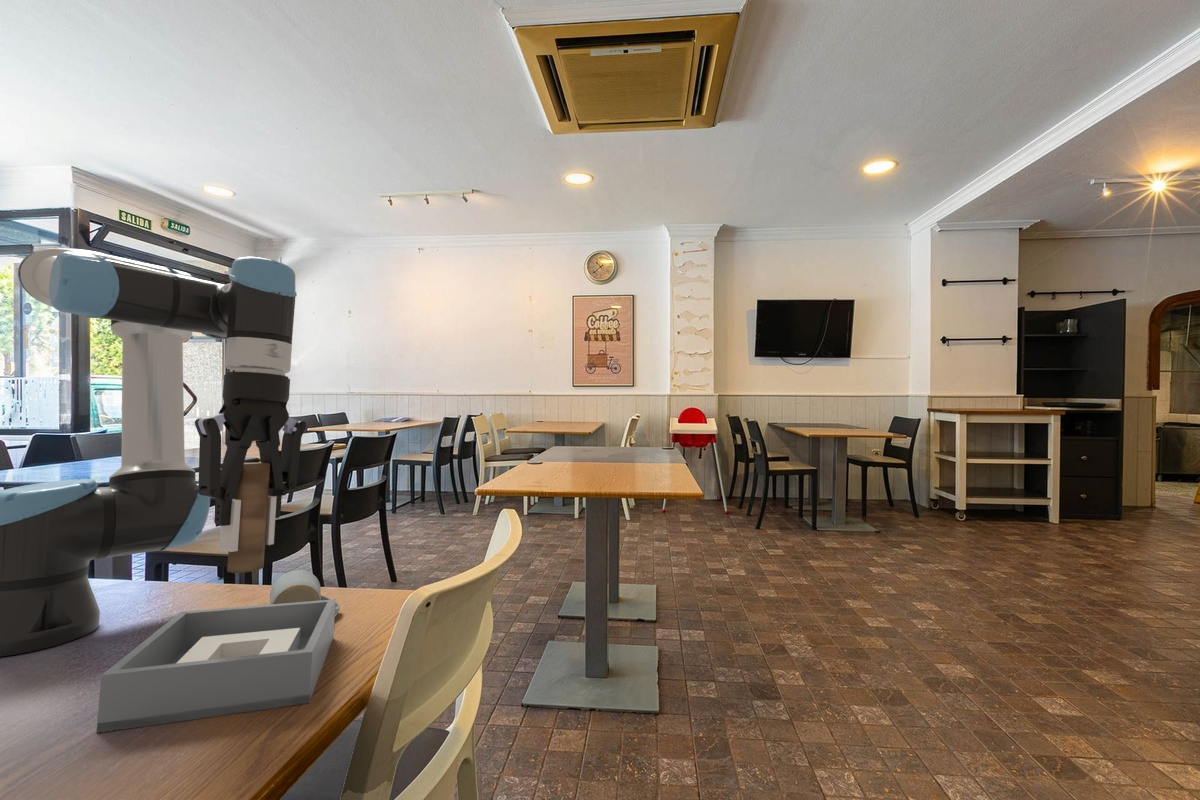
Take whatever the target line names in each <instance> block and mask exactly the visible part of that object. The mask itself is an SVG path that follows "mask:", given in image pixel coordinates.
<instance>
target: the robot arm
mask: <svg viewBox="0 0 1200 800" xmlns="http://www.w3.org/2000/svg"><path fill="white" fill-rule="evenodd" d="M17 277H18V281H19V284H20V286H21V287H22V289H24V291H25V292H26V293H27V294H28V295H29V296H31V297H32V298H33V299H35V300H36V301H38V302H39V303H42V304H45V305H47V306H50V307H53V308H54V309H55V310H56V311H59V312H62V313H68V314H72V315H77V316H80V317H83V318H90V319H91V318H92V319H103V320H110V330H111V332H112V334H114V335H115V336H117V337H118V338H119V339H121V341H122V345H121V346H122V347H121V348H122V349H121V351H122V352H121V353H122V355H121V356H122V357H121V359H122V360H121V362H122V363H121V365H122V367H121V368H122V369H121V373H122V375H121V382H122V383H121V461H120V462H121V464H120V465H121V467H120V468H118V469H117V470H116V471H115V472H114V473H112V474H111V475H109V481H108V485H109V486H100V487H98V485H99V484H98V483H97V482H96V480H95V479H91V478H76V479H68V480H67V479H64V480H57V481H56V480H55V481H47V482H46V481H45V482H39V483H32V484H27V485H21V486H15V487H11V488H6V489H3V490H0V658H1V657H9V656H14V655H19V654H24V653H30V652H34V651H39V650H43V649H44V650H45V649H47V648H52V647H55V646H59V645H62V644H66V643H69V642H71V641H74V640H77V639H79V638H81V637H82V638H83V637H84V636H86V635H87V636H88V634H91V633H92V632H95V630H96V629H97V628H98V627H99V626H100V617H101V612H100V608H99V605H98V602H97V600H96V597H95V594H94V591H93V588H92V587H91V586H92V585H91V583H90V581H89V569H90V562H91V561H92V560H98V559H99V560H100V559H107V558H114V557H121V556H129V555H136V554H143V553H149V552H150V553H152V552H157V551H159V552H164V551H167V550H169V549H175V548H181V547H186V546H189V545H190V544H192V543H193V542H195V541H196V540H197V539H198V538H199V536H200V535H201V533H202V532H203V529H204V528H205V525H206V523H207V520H208V516H209V511H210V508H211V507H210V505H211V498H212V499H213V500H214V501H215V503H214V505H215V507H214V519H213V520H214V521H213V522H214V524H215V526H220V530H219V544H218V550H220V551H225V552H228V551H229V552H234V551H238V539H239V523H240V508H241V500H236V499H233V498H234V497H235V494H236V490H237V486H238V483H239V479H240V475H241V472H242V468H243V465H244V463H245V461H246V456H247V453H248V450H249V449H250V448H251V447H252V443H253V442H255V446H256V447H257V449H258V452H259V459H260V463H270V473H269V489H268V505H267V520H266V536H265V546H271V545H274V544H275V531H276V529H275V528H276V519H279V518H280V516H281V513H282V497H283V496H286V495H287V494H288V492H289V491H290V490H295V489H296V488H297V485H298V477H299V468H300V467H299V465H300V454H301V446H302V445H301V444H302V436H303V434H304V432H305V430H306V428H307V422H306V421H303V420H297V419H294V418H292V417H290V415H289V414H290V413H289V411H288V409H287V405H288V402H289V399H290V387H291V386H290V385H291V379H290V378H289V376H287V375H286V374H288V373H290V372H291V365H292V351H293V350H292V349H293V348H292V347H293V334H294V333H293V332H294V322H295V321H294V318H295V308H296V307H295V306H296V297H297V291H296V272H295V271H294V270H293V269H292V267H291V266H289V265H287V264H285V263H283V262H280V261H277V260H273V259H269V258H263V257H256V256H242V257H241V256H240V257H237V258H236V259H234V260H233V261H232V264H231V269H230V274H229V276H228V278H229V280H230V282H229V283H227V284H223V283H218V282H214V281H210V280H205V279H199V278H196V277H194V276H193V275H192V274H190V273H188V272H185V271H181V270H179V269H174V268H172V267H170V266H166V265H164V266H163V265H156V264H152V263H151V264H150V263H147V262H142V261H138V260H133V259H129V258H125V257H120V256H115V255H112V254H107V253H103V252H99V251H94V250H89V249H81V248H67V247H66V248H64V247H52V248H51V247H49V248H43V249H39V250H36V251H34V252H31V253H29V254H28V255H26V256H25V257H24V258H23V259H22V260H21V262H20V264H19V265H18V267H17ZM193 333H200V334H202V335H203V336H204V335H205V337H209V338H212V339H216V340H225V341H226V343H225V354H224V355H225V356H224V368H226V369H228V370H229V372H226V373H225V374H223V384H222V385H223V386H222V399H223V404H222V406H221V408H220V409H219V412H218V414H215V415H211V416H209V417H199V418H196V419H195V420H194V425H195V429H196V431H197V433H198V436H199V449H198V450H199V452H198V453H199V454H198V457H199V459H198V480H197V479H196V470H195V469H194V468H193V467H192V466H190V465H188V464H187V463H186V461H185V460H186V459H185V455H186V454H185V417H184V416H185V414H184V413H185V410H184V409H185V408H184V407H185V405H184V403H185V402H184V361H183V360H184V359H183V358H184V357H183V356H184V355H183V352H184V351H183V347H184V346H183V344H184V342H186V341H187V340H189V339H190V338H192V336H193ZM223 426H224V427H223ZM224 428H226V430H227V431H228V435H227V439H226V443H225V446H226V450H225V454H224V456H223V457H224V458H223V461H222V433H221V432H222V431H223V429H224ZM281 430H282V432H283V435H282V439H281V440H280V431H281ZM280 445H281V450H280V448H279V447H280Z"/></svg>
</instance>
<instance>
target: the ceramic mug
mask: <svg viewBox="0 0 1200 800" xmlns="http://www.w3.org/2000/svg"><path fill="white" fill-rule="evenodd" d="M320 600H332V599H331V598H329V597H327V596H325V595H321V583H320V581H319V579H318V578H317V576H315V575H314V574H313V573H312V572H310V571H307V570H304V569H303V570H302V569H297V570H291V571H288V572H286V573H284V574H282V575H281V576H279V577H278V578H277V580H276V581H275V582H274V584H272V586H271V589H270V593H269V601H270V603H269V605H271V604H283V603H295V602H308V601H320ZM340 609H341V605H340V604H339V603H338V602H336V601H335V615H336V614H337V613H339V612H340ZM337 615H338V614H337Z"/></svg>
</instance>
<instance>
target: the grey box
mask: <svg viewBox="0 0 1200 800" xmlns="http://www.w3.org/2000/svg"><path fill="white" fill-rule="evenodd" d="M335 602H336V599H334V598H333V599H331V600H320V601H308V602H295V603H283V604H271V605H270V604H261V605H259V604H258V605H248V606H247V605H246V606H236V607H235V606H234V607H223V608H211V609H210V608H209V609H198V610H188V611H180V612H178V613H177V614H176V615H175V616H174V617H172V618H171V619H169V621H167V622H166V623H165V624H163V625H162V626H161V627H159V628H158V629H157V630H156V631H155V632H154V633H152V634H151V635H150V636H149V637H147V638H146V639H144V641H142V642H141V643H140V644H138V645H137V646H136V647H135V648H134V649H132V650H130V652H128V653H127V654H126V655H125V656H123V657H122V658H121V659H119V661H117V662H116V663H115V664H113V665H112V666H111V667H110V668H109V669H108V670H106V671H105V672H104V673H103V674H101V675H100V688H99V697H98V698H99V699H98V710H97V723H96V734H100V733H99V732H102V733H106V732H105V731H109V732H113V731H112V730H116V731H120V730H119V729H123V730H129V728H130V729H135V728H136V729H137V728H143V727H149V726H157V725H164V724H165V725H166V724H172V723H178V722H185V721H192V720H200V719H206V718H213V717H221V716H229V715H236V714H242V713H249V712H256V711H265V710H270V709H276V708H284V707H292V706H298V705H299V706H300V705H305V704H310V701H311V699H312V697H313V694H314V691H315V689H316V686H317V683H318V682H319V681H318V680H319V678H320V675H321V673H322V670H323V667H324V664H325V661H326V659H327V657H328V653H329V650H330V648H331V645H332V643H333V640H334V636H335V635H334V631H335V618H336V616H335Z"/></svg>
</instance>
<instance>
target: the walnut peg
mask: <svg viewBox="0 0 1200 800" xmlns="http://www.w3.org/2000/svg"><path fill="white" fill-rule="evenodd" d="M269 473H270V463H261V462H244V465H243V468H242V472H241V475H240V479H239V483H238V486H237V490H236V494H235V497H234V498H233V499H236V500H241V508H240V523H239V539H238V551H234V552H229V551H227V553H228V554H227V566H226V572H227V573H231V574H243V573H252V572H256V571H260V570H262V569H264V564H265V553H266V552H265V550H266V549H265V548H266V545H265V536H266V520H267V505H268V489H269Z"/></svg>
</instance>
